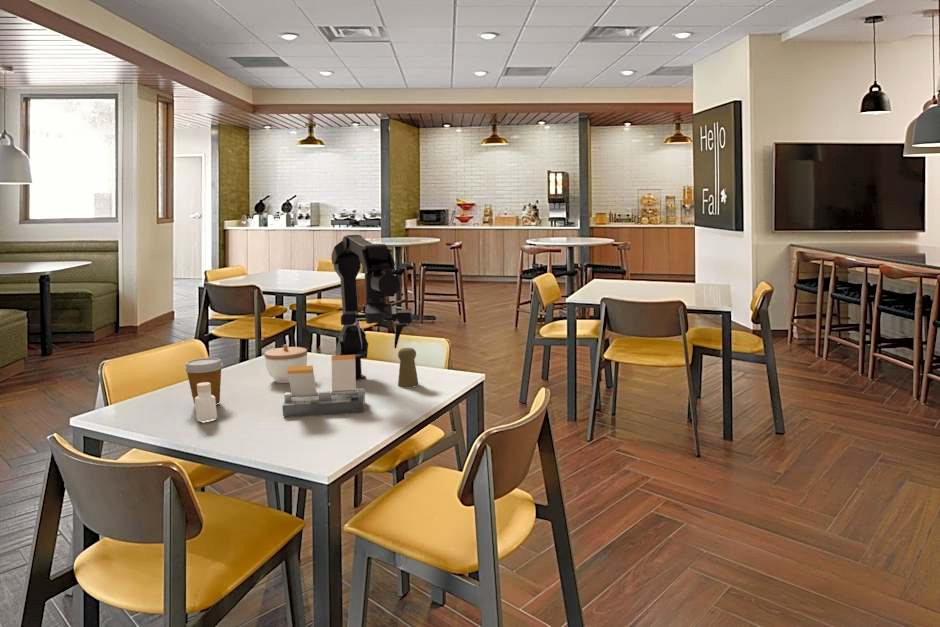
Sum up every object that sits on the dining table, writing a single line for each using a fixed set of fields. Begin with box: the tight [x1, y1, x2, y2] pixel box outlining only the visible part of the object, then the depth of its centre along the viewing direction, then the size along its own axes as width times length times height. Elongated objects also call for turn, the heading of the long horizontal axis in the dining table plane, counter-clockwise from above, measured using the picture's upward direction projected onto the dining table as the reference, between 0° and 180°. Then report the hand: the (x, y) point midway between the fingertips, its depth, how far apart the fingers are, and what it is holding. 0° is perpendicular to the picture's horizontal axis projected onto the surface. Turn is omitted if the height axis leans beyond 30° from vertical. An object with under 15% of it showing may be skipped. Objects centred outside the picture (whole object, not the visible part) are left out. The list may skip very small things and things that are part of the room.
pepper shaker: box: [397, 347, 419, 388], centre depth 195 cm, size 6×6×11 cm
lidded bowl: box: [264, 344, 308, 384], centre depth 204 cm, size 13×13×11 cm
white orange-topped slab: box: [287, 365, 319, 397], centre depth 169 cm, size 1×7×10 cm
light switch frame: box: [282, 388, 366, 417], centre depth 173 cm, size 9×20×5 cm, turn 96°
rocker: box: [330, 355, 358, 395], centre depth 174 cm, size 1×7×10 cm, turn 96°
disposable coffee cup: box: [184, 357, 224, 405], centre depth 180 cm, size 10×10×12 cm
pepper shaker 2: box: [194, 382, 218, 421], centre depth 166 cm, size 4×4×10 cm
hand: (378, 348), depth 181 cm, fingers open, 9 cm apart
